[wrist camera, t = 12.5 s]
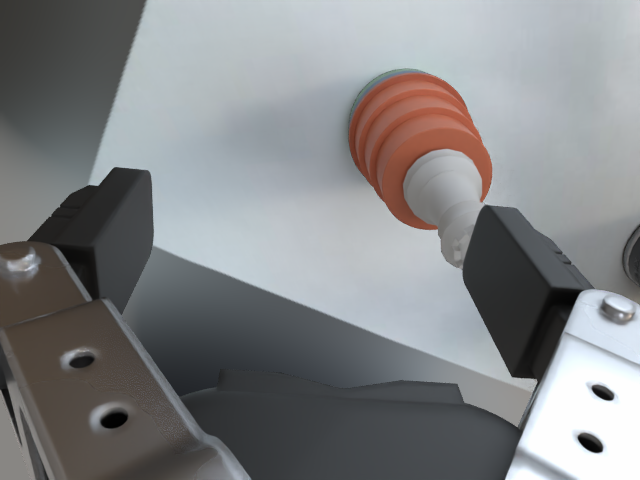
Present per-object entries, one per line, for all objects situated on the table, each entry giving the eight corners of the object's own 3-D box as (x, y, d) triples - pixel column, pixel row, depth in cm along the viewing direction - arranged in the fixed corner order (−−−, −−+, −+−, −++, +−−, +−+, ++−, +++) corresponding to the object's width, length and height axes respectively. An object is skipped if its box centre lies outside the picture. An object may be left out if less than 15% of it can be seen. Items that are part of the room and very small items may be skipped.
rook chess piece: (430, 228, 31) (468, 306, 24) (386, 180, 30) (413, 250, 23) (490, 183, 30) (548, 252, 23) (447, 129, 28) (496, 188, 21)
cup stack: (433, 42, 37) (485, 76, 27) (472, 144, 41) (530, 208, 31) (325, 99, 39) (335, 152, 29) (373, 192, 43) (397, 267, 33)
